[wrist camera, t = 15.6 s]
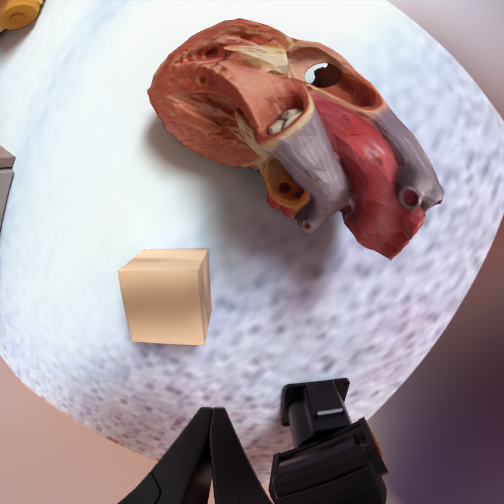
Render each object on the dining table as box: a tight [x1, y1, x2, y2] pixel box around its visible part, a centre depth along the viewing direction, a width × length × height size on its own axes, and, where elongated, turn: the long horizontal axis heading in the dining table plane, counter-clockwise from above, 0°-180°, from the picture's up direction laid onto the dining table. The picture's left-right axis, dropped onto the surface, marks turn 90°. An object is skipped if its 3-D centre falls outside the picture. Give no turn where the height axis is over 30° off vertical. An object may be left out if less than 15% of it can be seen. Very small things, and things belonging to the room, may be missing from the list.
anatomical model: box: [147, 18, 444, 260], centre depth 13 cm, size 11×13×15 cm
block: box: [118, 248, 212, 345], centre depth 18 cm, size 5×5×5 cm
